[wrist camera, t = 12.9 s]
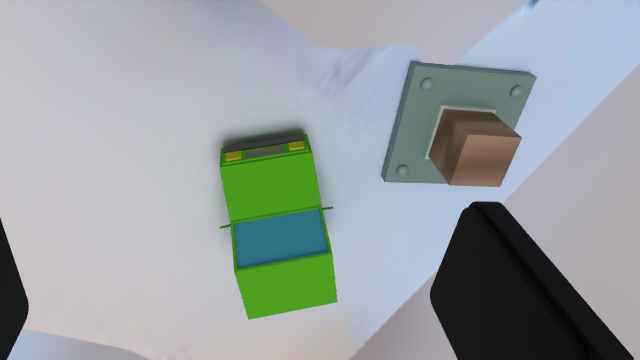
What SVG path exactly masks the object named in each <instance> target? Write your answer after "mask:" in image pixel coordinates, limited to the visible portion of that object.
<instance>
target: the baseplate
mask: <svg viewBox="0 0 640 360" xmlns="http://www.w3.org/2000/svg"><path fill="white" fill-rule="evenodd" d="M536 78H537V77H536V76H534V75H533V74H531V73H528V72H518V71H507V70H496V69H486V68H475V67H464V66H453V65H442V64H432V63H421V62H411V63H410V67H409V71H408V75H407V78H406V82H405V86H404V90H403V94H402V98H401V101H400V105H399V109H398V113H397V117H396V121H395V124H394V128H393V132H392V136H391V140H390V144H389V147H388V151H387V155H386V159H385V163H384V167H383V170H382V174H381V176H382V178H383V180H384V182H403V183H439V184H448V183H447V181H446V180H445V179H444V177H443V176H442V175H441V173H440V172H439V170H438V169H437V168H436V166H435V165H434V164H433V162H432V161H431V159H430V158H429V157H428V155H429V152H430V149H431V146H432V143H433V140H434V137H435V134H436V131H437V128H438V125H439V122H440V119H441V115H442V112H443V109H453V110H466V111H480V112H493V113H494V114H495V115H496V116H497V117H498V118H500V119H501V120H502V121H503V122H504V123H505V124H507V125H508V126H509V127H510V128H511V129H512V130H514V129H515V127H516V124H517V122H518V120H519V117H520V115H521V113H522V110H523V108H524V106H525V103H526V101H527V99H528V96H529V94H530V92H531V89H532V87H533V85H534V82H535V80H536Z"/></svg>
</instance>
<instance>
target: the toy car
mask: <svg viewBox="0 0 640 360" xmlns="http://www.w3.org/2000/svg"><path fill="white" fill-rule="evenodd" d="M220 171H221V176H222V181H223V186H224V191H225V196H226V201H227V206H228V211H229V216H230V221H231V224H229V225H225V226H221V227H220V229H221V228H226V227H230V226H231V234H232V247H233V260H234V273H235V276H236V279H237V283H238V286H239V289H240V293H241V296H242V299H243V303H244V306H245V309H246V313H247V316H248V319H254V318H259V317H264V316H269V315H274V314H280V313H285V312H290V311H295V310H300V309H305V308H310V307H315V306H320V305H325V304H330V303H336V302H337V294H336V284H335V275H334V265H333V256H332V250H331V246H330V241H329V237H328V233H327V228H326V224H325V219H324V215H323V210H327V209H333V207H326V208H322V206H321V200H320V195H319V189H318V183H317V178H316V172H315V166H314V161H313V155H312V151H311V147H310V144H309V141H308V137H307V134H299V135H293V136H287V137H281V138H274V139H268V140H262V141H256V142H250V143H244V144H237V145H231V146H225V147H223V148H221V157H220Z"/></svg>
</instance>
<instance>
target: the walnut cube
mask: <svg viewBox="0 0 640 360" xmlns="http://www.w3.org/2000/svg"><path fill="white" fill-rule="evenodd" d="M521 139H522V137H521V136H519V135H518V134H517V133H516V132H515V131H514V130H512V129H511V128H510V127H509V126H508V125H507V124H505V123H504V122H503V121H502V120H501V119H500V118H498V117H497V116H496V115H495V114H494V113H493V112H480V111H466V110H453V109H443V112H442V115H441V119H440V122H439V125H438V128H437V131H436V134H435V137H434V140H433V143H432V146H431V149H430V152H429V155H428V157H429V158H430V159H431V161H432V162H433V164H434V165H435V166H436V168H437V169H438V170H439V172H440V173H441V175H442V176H443V177H444V179H445V180H446V181H447V183H448V184H449V185H456V186H488V187H500V185H501V183H502V181H503V179H504V177H505V174H506V172H507V170H508V168H509V165H510V163H511V161H512V159H513V157H514V154H515V152H516V150H517V148H518V146H519V143H520V141H521Z"/></svg>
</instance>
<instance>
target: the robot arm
mask: <svg viewBox="0 0 640 360" xmlns="http://www.w3.org/2000/svg"><path fill="white" fill-rule="evenodd" d="M430 300H431V304H432V306H433V308H434V310H435V313H436V315H437V317H438V319H439V321H440V323H441V325H442V327H443V329H444V331H445V333H446V336H447V338H448V340H449V342H450V344H451V346H452V348H453V350H454V352H455V354H456V357H457V359H458V360H634V358H633V356H632V355H631V354H630V353H629V352H628V351H627V349H626V348H625V347H624V346H623V345H622V344H621V342H620V341H619V340H618V339H617V338H616V337H615V335H614V334H613V333H612V332H611V331H610V330H609V328H608V327H607V326H606V325H605V324H604V323H603V322H602V320H601V319H600V318H599V317H598V316H597V315H596V313H595V312H594V311H593V310H592V309H591V308H590V306H589V305H588V304H587V303H586V301H585V300H584V299H583V298H582V297H581V296H580V295H579V293H578V292H577V291H576V290H575V289H574V288H573V286H572V285H571V284H570V283H569V282H568V280H567V279H566V278H565V277H564V276H563V275H562V273H561V272H560V271H559V270H558V269H557V268H556V266H555V265H554V264H553V263H552V262H551V261H550V259H549V258H548V257H547V256H546V255H545V253H543V251H542V250H541V249H540V248H539V246H538V245H537V244H536V243H535V242H534V241H533V240H532V238H531V237H530V236H529V235H528V234H527V232H526V231H525V230H524V229H523V228H522V227H521V225H520V224H519V223H518V222H517V221H516V220H515V218H514V217H513V216H512V215H511V214H510V213H509V211H508V210H507V209H506V208H505V207H504V206H503V205H502V204H501V203H499V202H477V201H476V202H472V203H471V204H470V205H469V207H468V208H465V209H464V210H463V211H462V213H461V215H460V218H459V220H458V223H457V225H456V228H455V230H454V233H453V235H452V238H451V240H450V243H449V245H448V248H447V250H446V252H445V255H444V257H443V260H442V262H441V265H440V267H439V270H438V272H437V275H436V277H435V280H434V282H433V285H432V287H431V291H430ZM28 309H29V304H28V299H27V296H26V293H25V290H24V287H23V284H22V281H21V278H20V275H19V272H18V269H17V266H16V263H15V260H14V257H13V254H12V251H11V248H10V246H9V243H8V240H7V237H6V234H5V231H4V228H3V225H2V222H1V219H0V360H7V358H8V356H9V354H10V352H11V350H12V348H13V346H14V344H15V342H16V340H17V338H18V336H19V334H20V332H21V330H22V327H23V325H24V323H25V321H26V319H27V315H28Z"/></svg>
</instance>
